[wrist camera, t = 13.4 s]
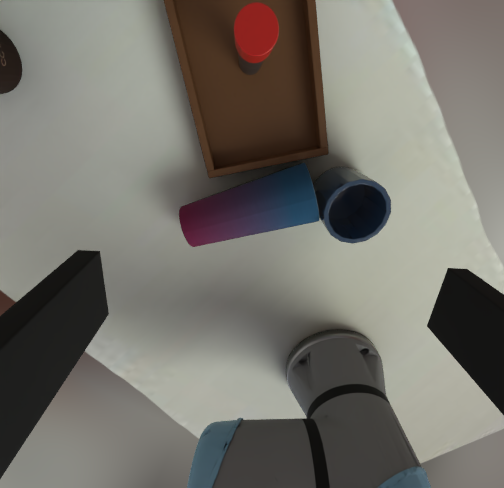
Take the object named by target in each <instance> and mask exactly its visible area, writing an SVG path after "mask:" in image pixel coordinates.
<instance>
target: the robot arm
mask: <svg viewBox="0 0 504 488" xmlns="http://www.w3.org/2000/svg"><path fill="white" fill-rule="evenodd" d="M108 314H109V313H108V306H107V299H106V292H105V285H104V278H103V271H102V264H101V257H100V251H82V250H78V251H77V252H75V253H74V254H73V255H72V256H71V257H70V258H68V259H67V260H66V261H65V262H64V263H62V264H61V265H60V266H59V267H58V268H57V269H55V270H54V271H53V272H52V273H51V274H49V275H48V276H47V277H46V278H45V279H44V280H42V281H41V282H40V283H39V284H38V285H36V286H35V287H34V288H33V289H32V290H31V291H29V292H28V293H27V294H26V295H25V296H23V297H22V298H21V299H20V300H19V301H18V302H16V303H15V304H14V305H13V306H12V307H11V308H9V309H8V310H7V311H6V312H5V313H4V314H2V315H1V316H0V479H1V477H2V476H3V474H4V472H5V471H6V469H7V468H8V466H9V465H10V463H11V462H12V460H13V459H14V457H15V456H16V454H17V453H18V451H19V450H20V448H21V447H22V445H23V444H24V442H25V440H26V438H27V437H28V436H29V434H30V433H31V431H32V430H33V428H34V427H35V425H36V424H37V422H38V421H39V419H40V418H41V416H42V415H43V413H44V411H45V410H46V409H47V407H48V406H49V404H50V402H51V401H52V399H53V398H54V396H55V395H56V393H57V392H58V390H59V389H60V387H61V386H62V384H63V382H64V381H65V380H66V378H67V376H68V375H69V374H70V372H71V371H72V369H73V368H74V366H75V365H76V363H77V361H78V360H79V358H80V357H81V355H82V354H83V352H84V351H85V349H86V348H87V346H88V345H89V343H90V342H91V340H92V339H93V337H94V336H95V334H96V333H97V331H98V330H99V328H100V327H101V325H102V323H103V322H104V320H105V319H106V317H107V316H108ZM427 327H428V328H429V329H430V330H431V331H432V332H433V334H434V335H435V336H436V337H437V338H438V339H439V341H440V342H441V343H442V344H443V345H444V346H445V347H446V349H447V350H448V351H449V352H450V353H451V354H452V356H453V357H454V358H455V359H456V360H457V361H458V363H459V364H460V365H461V366H462V367H463V368H464V370H465V371H466V372H467V373H468V374H469V375H470V377H471V378H472V379H473V380H474V381H475V382H476V384H477V385H478V386H479V387H480V388H481V389H482V390H483V392H484V393H485V394H486V395H487V396H488V397H489V399H490V400H491V401H492V402H493V403H494V404H495V406H496V407H497V408H498V409H499V410H500V411H501V413H502V414H503V415H504V295H503V294H502V293H500V292H499V291H498V290H496V289H495V288H493V287H492V286H490V285H489V284H488V283H486V282H485V281H483V280H482V279H481V278H479V277H478V276H476V275H475V274H473V273H472V272H471V271H469V270H468V269H454V268H448V270H447V273H446V275H445V278H444V281H443V284H442V286H441V289H440V292H439V294H438V297H437V300H436V303H435V305H434V308H433V311H432V314H431V316H430V319H429V322H428V325H427ZM286 373H287V380H288V384H289V387H290V389H291V391H292V393H293V394H294V396H295V398H296V399H297V401H298V403H299V405H300V406H301V408H302V410H303V411H304V413H305V415H306V417H307V419H266V420H243V418H239V419H237V420H233V421H220V422H214V423H211V424H210V425H208V426H207V427H206V428H205V430H204V431H203V433H202V434H201V437H200V439H199V442H198V445H197V448H196V451H195V455H194V458H193V462H192V467H191V471H190V476H189V481H188V486H187V488H431V486H430V484H429V481H428V479H427V474H426V472H425V470H424V468H422V467H421V465H420V463H419V461H418V459H417V457H416V455H415V453H414V451H413V449H412V447H411V445H410V443H409V441H408V439H407V437H406V435H405V433H404V431H403V429H402V427H401V425H400V423H399V421H398V419H397V417H396V415H395V413H394V411H393V409H392V407H391V405H390V403H389V401H388V399H387V397H386V391H385V382H384V374H383V366H382V360H381V358H380V356H379V354H378V352H377V350H376V348H375V346H374V345H373V344H372V342H371V341H370V340H368V339H367V338H366V337H364V336H362V335H360V334H358V333H356V332H352V331H347V330H331V331H325V332H321V333H318V334H315V335H313V336H311V337H309V338H307V339H305V340H304V341H302V342H301V343H300V344H299V345H297V346H296V347H295V349H294V350H293V351H292V352H291V354H290V356H289V358H288V360H287V364H286Z"/></svg>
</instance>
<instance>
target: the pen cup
mask: <svg viewBox="0 0 504 488" xmlns="http://www.w3.org/2000/svg"><path fill="white" fill-rule="evenodd" d="M313 187H314V191H315V195H316V199H317V204H318V209H319V218H320V219H321V221H322V222H323V224H324V225H325V227H326V228H327V230H328V231H329V233H330V234H331V235H332V236H333V237H335V238H336V239H338V240H339V241H341V242H347V243H358V242H363V241H366V240H368V239H370V238H372V237H373V236H375V235H377V234H378V233H379V232H380V230H381V229H382V228H383V227H384V226H385V225H386V223H387V220H388V218H389V215H390V213H391V200H390V197H389V195H388V193H387V191H386V189H385V188H383V187H382V186H381V185H379V184H378V183H377V182H375V181H374V180H372V179H370V178H368V177H367V176H365V175H363V174H362V173H360V172H358V171H357V170H355V169H352V168H349V167H335V168H332V169H330V170H328V171H326V172H324V173H323V174H322V175H321V176H320V177H319V178H318V179H317V180H316V182H315V183H314V186H313Z"/></svg>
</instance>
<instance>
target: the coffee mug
mask: <svg viewBox="0 0 504 488" xmlns="http://www.w3.org/2000/svg"><path fill="white" fill-rule="evenodd" d="M21 76H22V64H21V59H20V56H19V53H18V51H17V49H16V47H15V46H14V44H13V43H12V41H11V40H10V39H9V38H8V37H7V35H6V34H4V33H3V32H2V31H1V30H0V94H3V93H7V92H10V91H11V90H13V89H14V88H15V87H16V86H17V85H18V83H19V82H20V79H21Z"/></svg>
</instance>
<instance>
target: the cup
mask: <svg viewBox="0 0 504 488" xmlns="http://www.w3.org/2000/svg"><path fill="white" fill-rule="evenodd" d="M179 219H180V224H181V228H182V231H183V234H184V236H185V238H186V240H187V242H188V243H189V244H190V245H191V246H192V247H196V246H200V245H205V244H210V243H215V242H220V241H225V240H229V239H234V238H239V237H244V236H249V235H254V234H258V233H263V232H268V231H273V230H278V229H283V228H287V227H292V226H297V225H302V224H307V223H312V222H316V221H319V209H318V204H317V199H316V195H315V191H314V187H313V183H312V180H311V177H310V174H309V171H308V168H307V166H306V164H305V163H301V164H298V165H296V166H293V167H290V168H287V169H285V170H282V171H279V172H276V173H273V174H271V175H268V176H265V177H262V178H260V179H257V180H254V181H251V182H248V183H246V184H243V185H240V186H237V187H235V188H232V189H229V190H226V191H223V192H221V193H218V194H215V195H212V196H210V197H207V198H204V199H201V200H198V201H196V202H193V203H190V204H187V205H185V206H182V207H181V208H180V210H179Z"/></svg>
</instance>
